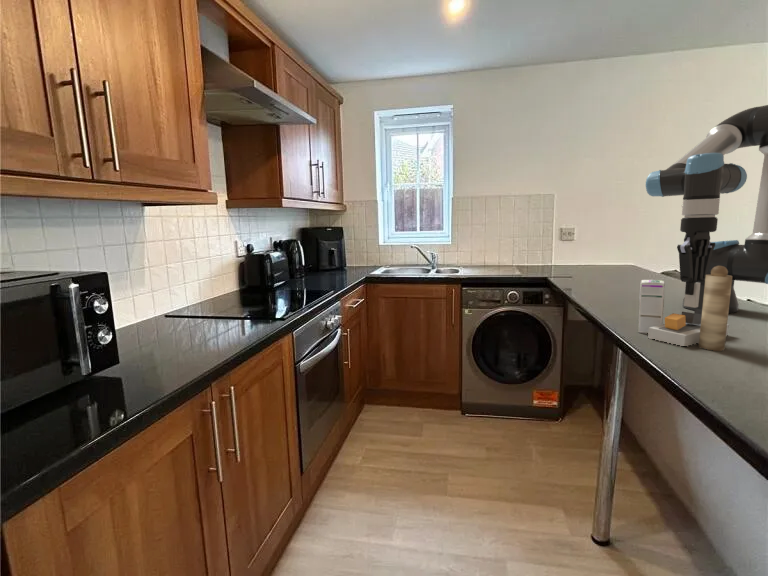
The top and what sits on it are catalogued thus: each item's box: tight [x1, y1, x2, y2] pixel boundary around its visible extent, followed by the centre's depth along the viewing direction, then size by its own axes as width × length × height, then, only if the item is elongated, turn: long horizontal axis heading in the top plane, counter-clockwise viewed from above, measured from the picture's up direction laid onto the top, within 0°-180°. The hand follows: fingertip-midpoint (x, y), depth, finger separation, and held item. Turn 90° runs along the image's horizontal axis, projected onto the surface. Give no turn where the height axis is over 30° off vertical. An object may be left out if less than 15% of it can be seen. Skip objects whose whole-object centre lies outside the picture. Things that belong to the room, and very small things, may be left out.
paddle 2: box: [693, 309, 702, 317], centre depth 113 cm, size 4×3×3 cm
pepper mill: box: [698, 266, 732, 352], centre depth 101 cm, size 5×5×20 cm
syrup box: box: [637, 279, 666, 334], centre depth 117 cm, size 6×6×14 cm
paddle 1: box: [664, 313, 686, 330], centre depth 108 cm, size 4×3×3 cm
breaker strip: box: [647, 321, 730, 347], centre depth 111 cm, size 20×9×3 cm, turn 116°
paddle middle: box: [680, 311, 702, 325], centre depth 111 cm, size 4×3×3 cm
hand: (690, 306), depth 110 cm, fingers closed
